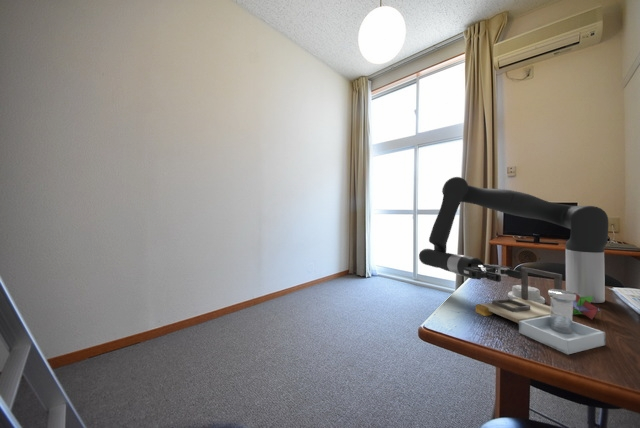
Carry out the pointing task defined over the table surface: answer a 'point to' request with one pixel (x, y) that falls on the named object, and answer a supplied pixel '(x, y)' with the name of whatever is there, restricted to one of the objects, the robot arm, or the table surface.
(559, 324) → the pin
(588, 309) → the geometric puzzle
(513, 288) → the mechanical component
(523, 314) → the dolly
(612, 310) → the table surface
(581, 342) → the tray
